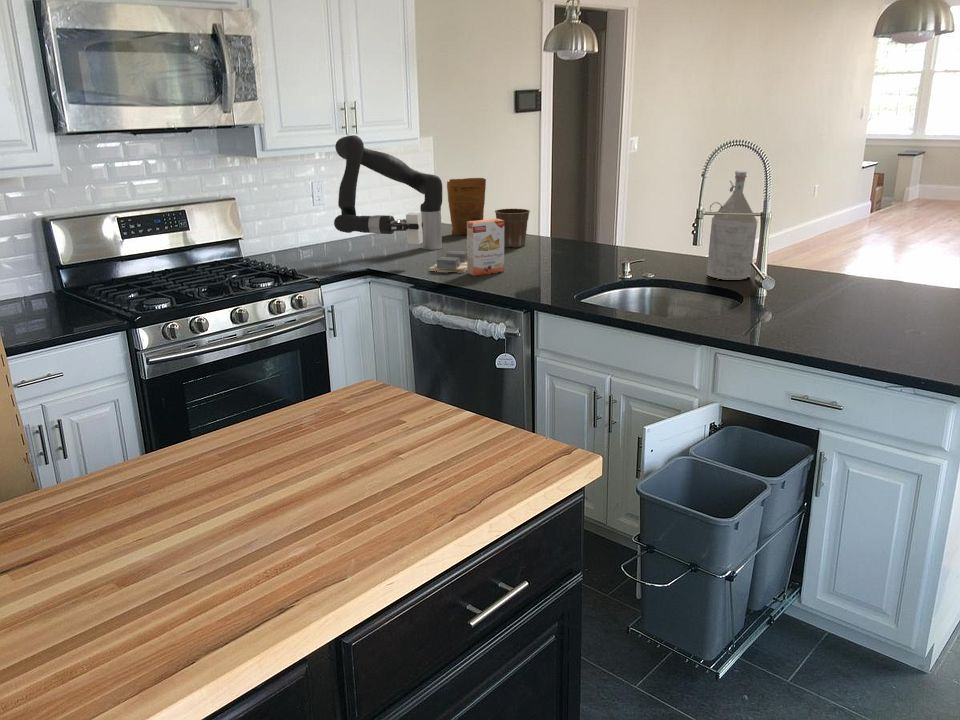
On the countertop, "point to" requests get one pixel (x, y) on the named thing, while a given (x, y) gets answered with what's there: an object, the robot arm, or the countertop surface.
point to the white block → (413, 234)
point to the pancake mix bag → (465, 202)
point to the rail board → (451, 262)
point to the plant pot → (514, 226)
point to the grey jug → (732, 236)
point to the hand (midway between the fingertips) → (420, 225)
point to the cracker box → (485, 246)
